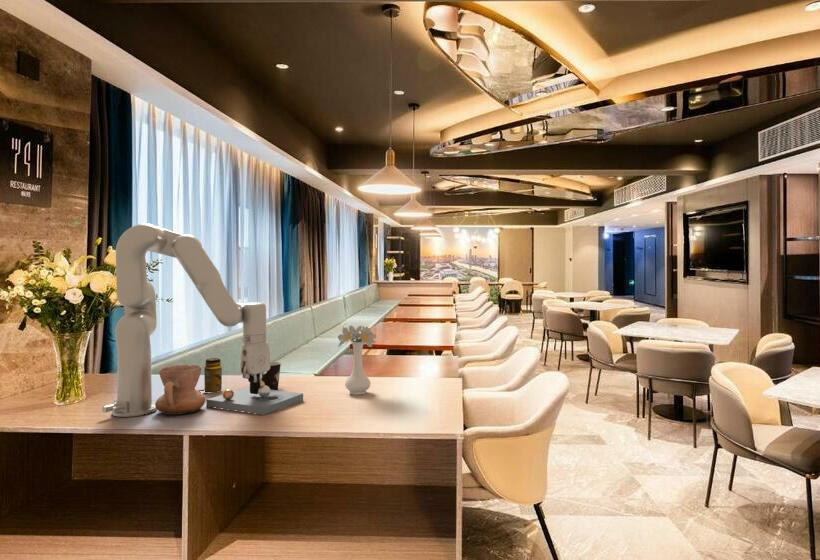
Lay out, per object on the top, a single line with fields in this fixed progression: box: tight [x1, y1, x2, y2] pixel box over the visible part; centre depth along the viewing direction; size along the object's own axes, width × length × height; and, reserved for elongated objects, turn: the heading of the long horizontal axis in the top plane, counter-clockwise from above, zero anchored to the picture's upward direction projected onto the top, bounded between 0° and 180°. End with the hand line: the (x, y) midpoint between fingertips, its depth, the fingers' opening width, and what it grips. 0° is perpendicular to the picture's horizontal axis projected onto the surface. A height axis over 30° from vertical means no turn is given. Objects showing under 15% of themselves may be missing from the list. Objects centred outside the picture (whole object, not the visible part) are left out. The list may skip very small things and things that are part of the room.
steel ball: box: [258, 385, 270, 397], centre depth 169 cm, size 4×4×4 cm
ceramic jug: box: [154, 363, 206, 415], centre depth 160 cm, size 18×14×14 cm
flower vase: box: [337, 325, 377, 396], centre depth 186 cm, size 13×18×25 cm
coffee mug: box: [262, 361, 282, 391], centre depth 191 cm, size 12×9×10 cm
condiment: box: [196, 357, 223, 393], centre depth 188 cm, size 7×8×12 cm
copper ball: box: [222, 388, 234, 400], centre depth 166 cm, size 4×4×4 cm
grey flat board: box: [206, 386, 304, 416], centre depth 170 cm, size 24×20×2 cm
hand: (255, 393), depth 171 cm, fingers closed
